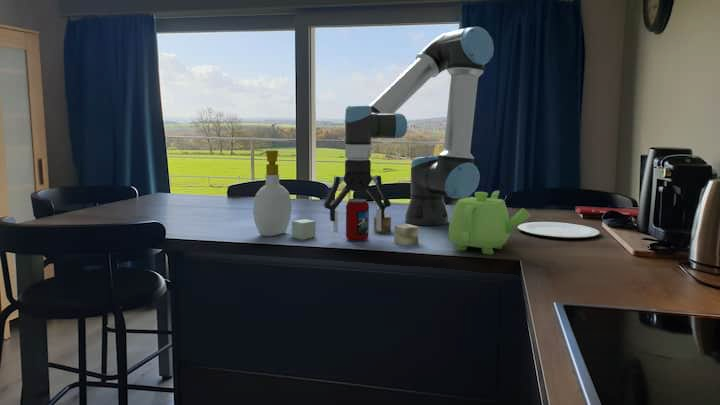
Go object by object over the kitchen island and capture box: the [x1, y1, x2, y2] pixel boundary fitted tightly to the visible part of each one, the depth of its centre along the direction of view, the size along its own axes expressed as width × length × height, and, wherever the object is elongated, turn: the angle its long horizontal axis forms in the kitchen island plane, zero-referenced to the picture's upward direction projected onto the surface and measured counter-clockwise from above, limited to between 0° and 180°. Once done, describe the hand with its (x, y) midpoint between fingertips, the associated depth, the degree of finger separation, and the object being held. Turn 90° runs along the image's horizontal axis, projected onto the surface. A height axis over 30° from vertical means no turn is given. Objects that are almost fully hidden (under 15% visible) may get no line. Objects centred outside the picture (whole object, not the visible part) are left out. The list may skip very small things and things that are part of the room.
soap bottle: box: [253, 149, 292, 238], centre depth 165 cm, size 14×9×26 cm, turn 146°
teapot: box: [448, 190, 531, 255], centre depth 149 cm, size 25×22×16 cm
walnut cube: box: [373, 214, 392, 234], centre depth 173 cm, size 5×5×5 cm
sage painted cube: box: [291, 218, 316, 240], centre depth 163 cm, size 5×5×5 cm
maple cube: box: [393, 223, 420, 246], centre depth 156 cm, size 5×5×5 cm
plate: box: [517, 221, 601, 240], centre depth 173 cm, size 25×25×2 cm
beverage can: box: [345, 198, 370, 242], centre depth 159 cm, size 7×7×12 cm
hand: (357, 231), depth 160 cm, fingers open, 12 cm apart
